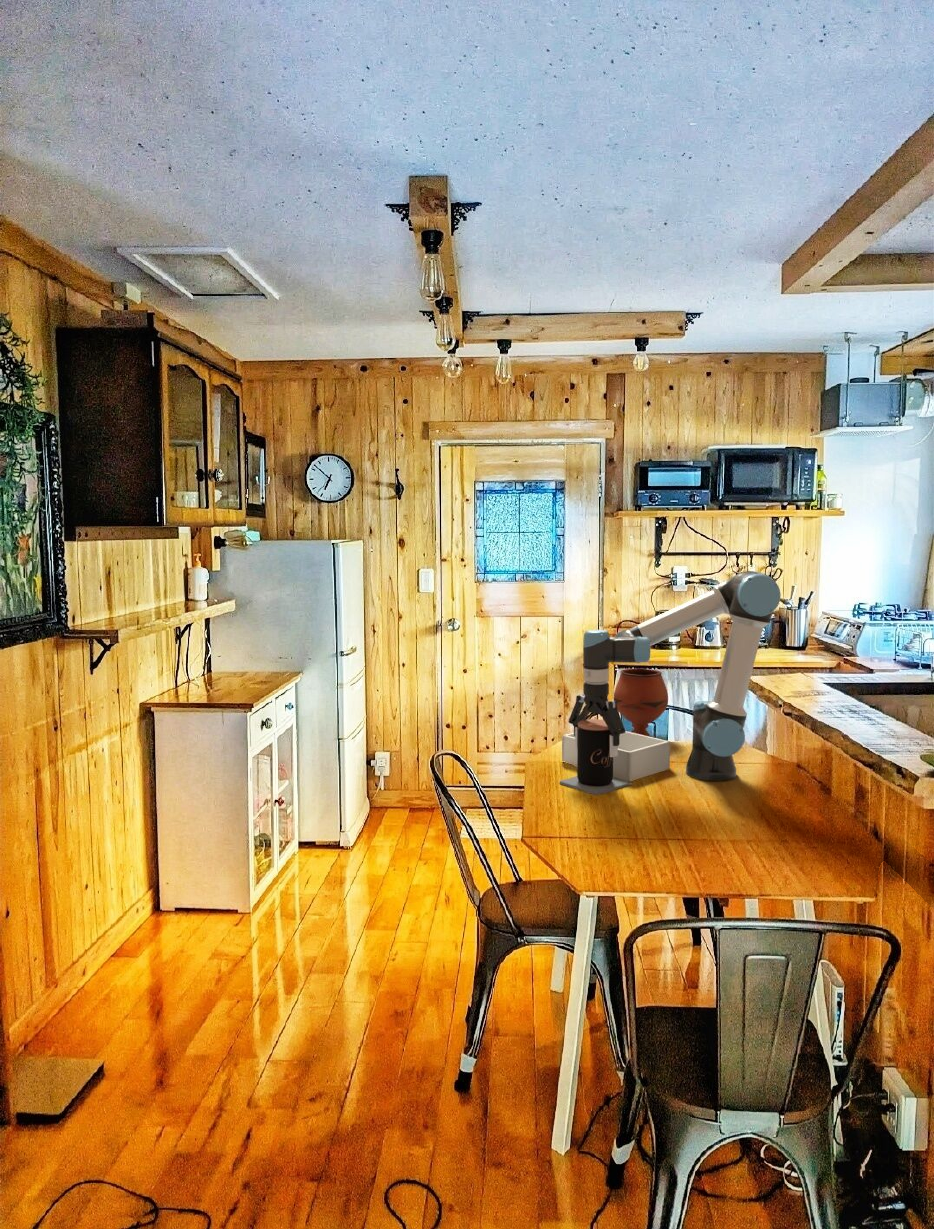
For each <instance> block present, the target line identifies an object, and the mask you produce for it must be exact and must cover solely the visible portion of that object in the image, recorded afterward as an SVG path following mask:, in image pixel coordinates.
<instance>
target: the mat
mask: <svg viewBox="0 0 934 1229" xmlns="http://www.w3.org/2000/svg"><path fill="white" fill-rule="evenodd" d="M631 782H632V781H626V780H622V779H619V778H615V777H613V780H612V782H611V783H610V784H609V785H606V786H587V785H584V784H582V783H580V781H579V780H578V778H577V775H576V776H573V777H569V778H565V779H562V780H559V784H560V785H562V786H565V787H569V788H572V789H575V790H578V791H581V792H585V793H587V794H592V795H595V796H600V795H604V794H607V793H610V792H613V791H616V790H620V789H623V788H626V787H630V786H631Z"/></svg>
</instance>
